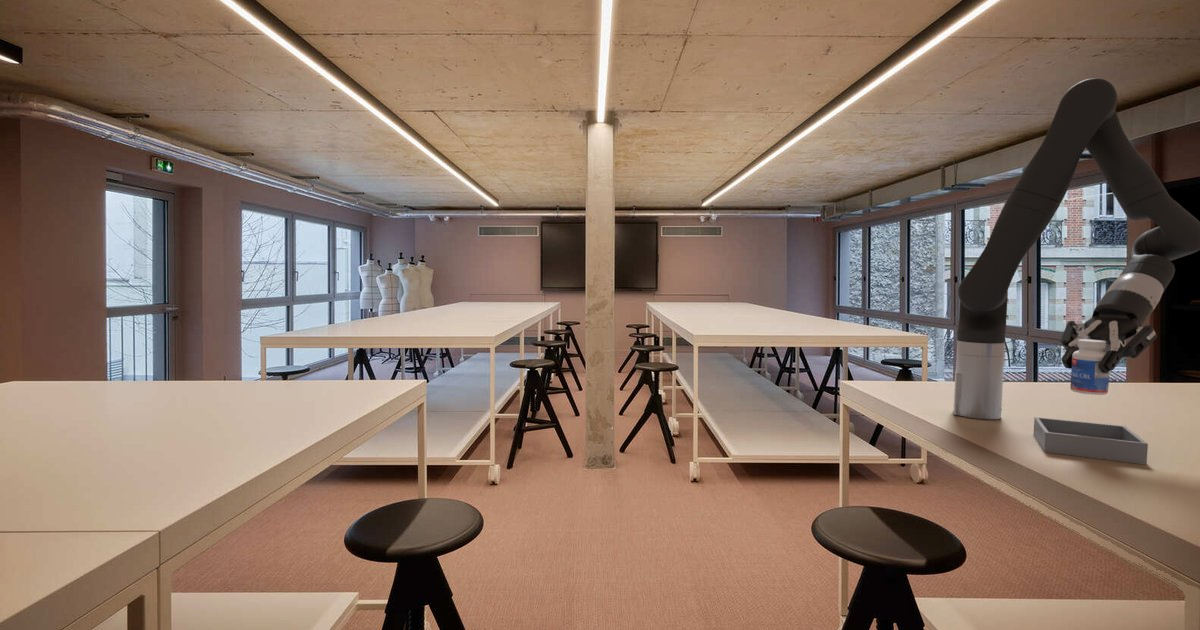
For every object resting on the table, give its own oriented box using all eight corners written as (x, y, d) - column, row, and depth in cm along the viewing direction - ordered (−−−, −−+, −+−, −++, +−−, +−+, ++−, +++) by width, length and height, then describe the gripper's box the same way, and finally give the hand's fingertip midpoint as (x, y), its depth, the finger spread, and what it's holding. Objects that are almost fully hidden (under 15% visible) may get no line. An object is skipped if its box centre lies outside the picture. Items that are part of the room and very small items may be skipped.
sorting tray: (1044, 451, 106) (1045, 432, 106) (1033, 434, 118) (1034, 417, 118) (1146, 464, 99) (1147, 443, 99) (1124, 444, 111) (1125, 426, 111)
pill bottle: (1062, 389, 111) (1064, 338, 110) (1088, 389, 111) (1091, 338, 111) (1088, 395, 105) (1091, 341, 105) (1116, 395, 106) (1119, 341, 105)
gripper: (1077, 287, 116) (1034, 349, 113) (1168, 288, 103) (1121, 359, 100) (1094, 313, 118) (1051, 375, 115) (1184, 318, 105) (1139, 388, 102)
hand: (1084, 367), depth 107 cm, fingers closed on pill bottle, 5 cm apart
